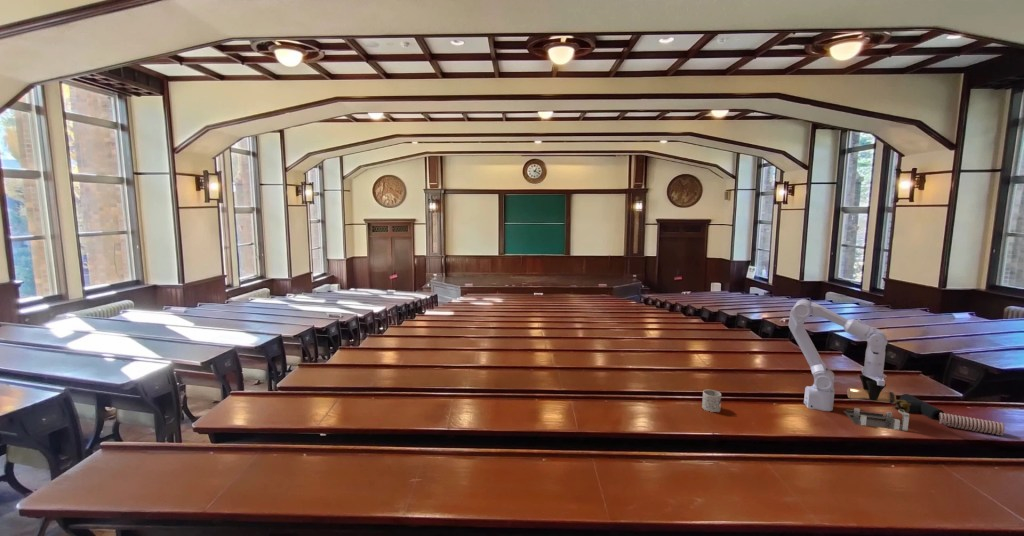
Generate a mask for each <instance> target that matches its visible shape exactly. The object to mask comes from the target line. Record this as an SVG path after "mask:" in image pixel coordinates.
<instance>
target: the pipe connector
mask: <svg viewBox="0 0 1024 536" xmlns="http://www.w3.org/2000/svg"><path fill="white" fill-rule="evenodd" d="M894 404H895V406H894V405H893V409H895V410H904V411H905V412H906V413H909V414H910V413H911V414H913V413H915V414H917V413H918V414H921V415H924V416H925V417H927V418H929V419H931V420H937V421H939V413H945V412H944V411H943V410H942V409H940V408H938V407H936V406H933V405H932V404H930V403H928V402H926V401H923V400H921V399H919V398H918V397H916V396H913V395H911V394H909V393H903V394H902V395H901V396H900V397H899V399H896V402H895V403H894Z"/></svg>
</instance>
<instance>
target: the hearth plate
mask: <svg viewBox="0 0 1024 536" xmlns="http://www.w3.org/2000/svg"><path fill="white" fill-rule="evenodd" d="M843 413H845V415H846V416H847V417H848V418H849V419H850V420H851V422H853V424H854V425H857V426H861V425H860V417H861V415H866V416H867V419H866V427H871V428H872V427H873V428H881V429H889V430H894V429H893V421H894V419H896V418H895V417H894V416H892V419H891V422H886V421H885V417H886V415H884V414H883V413H879V412H872V411H861V410H860V415H859V418H854V417H853V416H854V409H853V410H852V409H847V408H846V409H845V410H843ZM901 425H902V423H900V426H899V430H898V431H904V430H901ZM908 431H909V430H907V431H906V432H908ZM904 432H905V431H904Z"/></svg>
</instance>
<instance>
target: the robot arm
mask: <svg viewBox="0 0 1024 536" xmlns="http://www.w3.org/2000/svg"><path fill="white" fill-rule="evenodd" d="M810 316H811V318H823V319H825V320H827V321H829V322H831V323H833V324H836V325H838V326H840V327H843V330H844V332H845V333H847V334H849V335H851V336H853V337H855V338H858V339H859V340H862V341H864V342H865V341H866V342H867V343H866V349H865V354H864V356H865V357H864V364H863V365H864V366H863V367H861V373H862V374H859V375H858V376H859V378H860V381H861V384H862V389H867V390H869V399H870V400H877V399H878V397H879V394H880V392H881V391H884V390H883V389H885V388H886V387H887V384H886V380H885V378H887V376H888V375H886V374H885V373H884V370H885V369H884V368H885V359H886V348H887V347H886V346H887V345H888V343H889V342H888V337H887V335H886V333H885V332H884V331H883V330H881V329H880V328H876V327H875V326H870V325H868V324H866V323H864V322H862V320H861V319H859V318H858V319H855V318H851V319H848V318H846V317H844V316H842V315H840V314H838V313H836V312H834V311H832V310H830V309H828V308H826V307H825V306H823V305H820V304H818V303H817V302H814V301H813V302H812V301H810V300H808V299H805V298H802V299H799V300H797V301H796V302H795V304H794V305H793V307H792V308H791V310H790V313H789V319H788V324H787V325H788V328H789V330H790V333H791V334H792V336H793V338H794V339H795V342H796V343H797V345H798V348H799V349H800V350H801V352H802V354H803V355H804V358H805V360H806V362H807V364H808V365H809V368H810V371H811V374H812V376H813V384H812V385H811V386H809V385H807V386H805V388H804V399H803V404H804V405H805V406H806V408H807V409H810V410H818V411H821V412H831V411H833V409H834V400H835V392H836V388H835V387H834V385H835V382H834V381H835V373H834V372H833V371H832V370H830V369H829V368H828V366H827V364H826V363H825V362H824V361H823V360H822V357H821V355H820V354H819V352H818V350H817V348H816V347H815V344H814V343H813V341H812V339H811V337H810V335H809V333H808V332H807V330H806V328H805V326H804V323H805V322H806V320H807V319H808V318H809V317H810Z"/></svg>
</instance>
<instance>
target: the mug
mask: <svg viewBox="0 0 1024 536" xmlns="http://www.w3.org/2000/svg"><path fill="white" fill-rule="evenodd" d="M701 402H702V405H701V408H703V409H704V410H703V409H702V410H703V411H705V410H706V411H705V412H708V411H710V412H709V413H713V412H717V413H720V412H721V408H722V407H721V406H722V405H721V404H722V393H721V392H720V391H718V390H715V389H714V390H713V389H704V390H703V391H702V401H701Z"/></svg>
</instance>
